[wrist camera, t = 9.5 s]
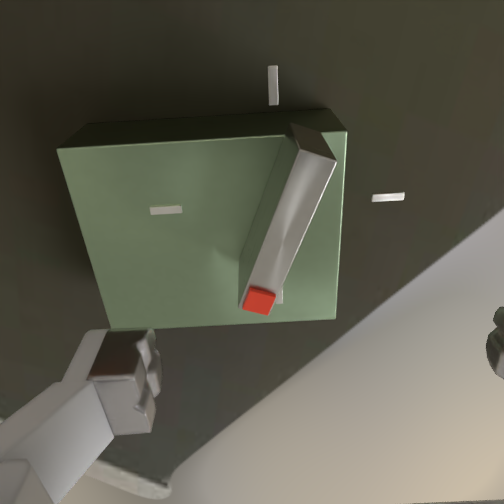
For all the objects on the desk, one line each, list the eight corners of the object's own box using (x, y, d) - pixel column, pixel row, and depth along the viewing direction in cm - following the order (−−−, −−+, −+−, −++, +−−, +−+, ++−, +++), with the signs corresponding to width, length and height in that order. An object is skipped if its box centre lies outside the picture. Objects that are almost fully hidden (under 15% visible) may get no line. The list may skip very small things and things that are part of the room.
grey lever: (289, 121, 17) (300, 150, 13) (321, 132, 17) (340, 163, 14) (238, 262, 20) (237, 312, 17) (265, 269, 20) (269, 320, 17)
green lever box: (390, 45, 19) (424, 56, 15) (366, 274, 25) (386, 319, 22) (71, 65, 19) (31, 81, 16) (129, 287, 26) (110, 334, 22)
